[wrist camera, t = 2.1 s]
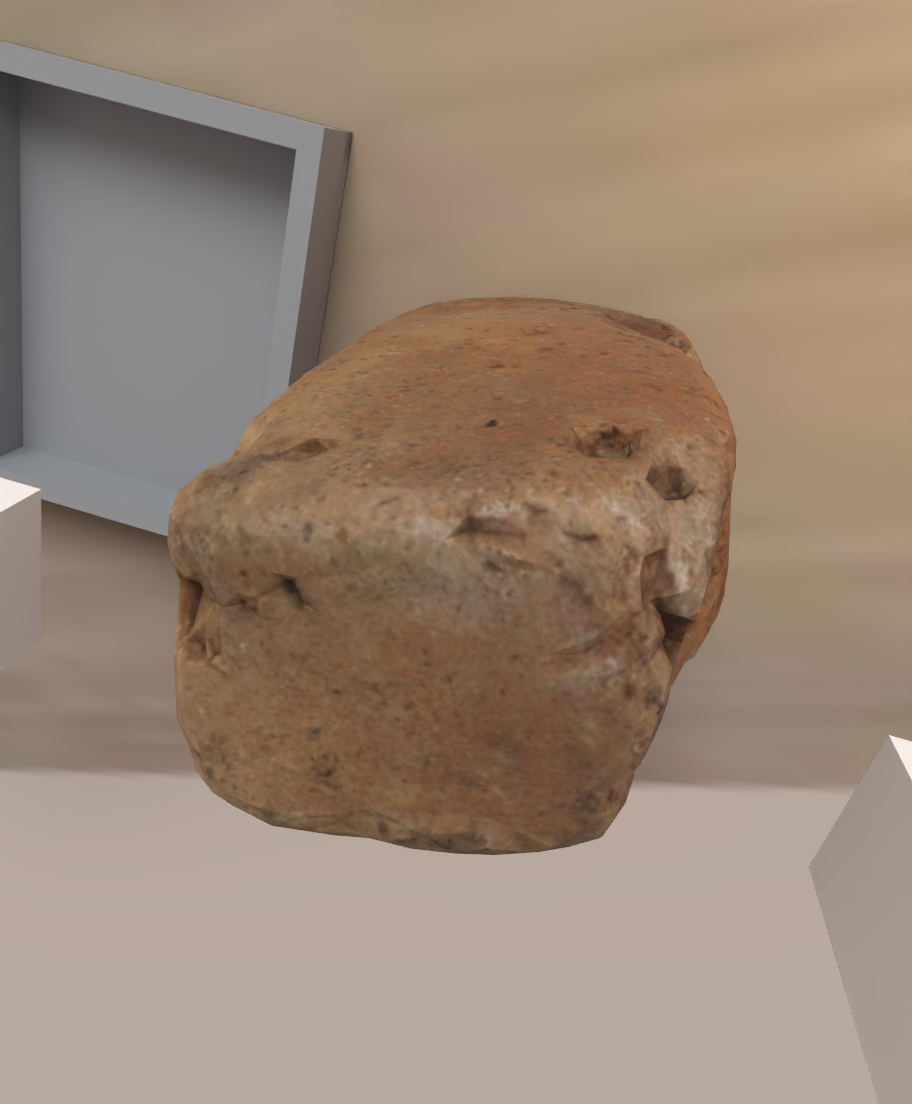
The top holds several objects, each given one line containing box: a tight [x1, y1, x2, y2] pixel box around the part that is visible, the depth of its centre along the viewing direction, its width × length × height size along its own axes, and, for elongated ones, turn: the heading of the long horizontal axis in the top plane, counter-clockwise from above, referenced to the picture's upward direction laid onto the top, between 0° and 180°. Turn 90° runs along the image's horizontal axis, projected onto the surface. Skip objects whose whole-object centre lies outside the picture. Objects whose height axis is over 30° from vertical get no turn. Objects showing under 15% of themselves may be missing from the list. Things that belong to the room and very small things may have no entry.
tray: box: [0, 40, 352, 536], centre depth 30 cm, size 13×16×3 cm
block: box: [167, 297, 736, 855], centre depth 21 cm, size 11×8×20 cm
